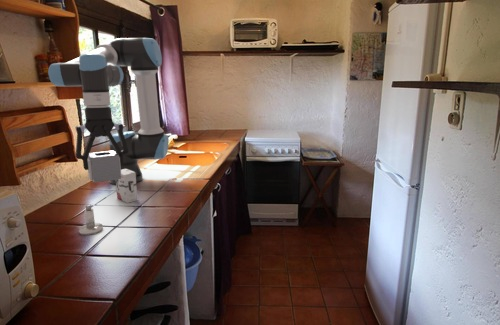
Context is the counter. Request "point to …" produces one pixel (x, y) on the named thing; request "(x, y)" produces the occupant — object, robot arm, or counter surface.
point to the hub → (90, 223)
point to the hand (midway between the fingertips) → (105, 177)
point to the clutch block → (105, 166)
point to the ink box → (127, 186)
